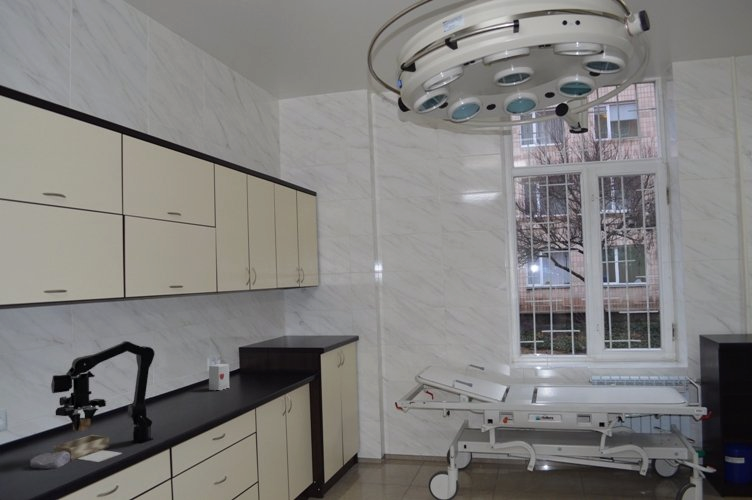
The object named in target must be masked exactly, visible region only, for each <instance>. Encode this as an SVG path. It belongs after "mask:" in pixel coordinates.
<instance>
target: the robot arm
mask: <svg viewBox="0 0 752 500" xmlns="http://www.w3.org/2000/svg"><path fill="white" fill-rule="evenodd" d="M127 352H128V353H130V354H133V355H135V356H136V357H135V361H136V364H137V374H136V378H135V379H136V380H135V387H134V388H135V389H134V396H133V401H132V403H131V404H128V405H127V413H126V416H127V419H128V421H130V422H131V423H132V424H133V426H134V427H133V432H132V437H133V438H132V440H131V442H132V443H141V444H143V443H146V442H148V441H151V440H154V439H155V438H154V437H152V429H151V428H152V424H153V421H152V419H150V418H149V417H147V407H146V394H147V386H148V378H149V370H150V367H151V365H152V363H153V360H154V357H155V355H156V354H155V350H154V348H152V347H150V346H145V345H142V346H140V345H139V344H134V343H133V342H131V341H127V340H125V341H123V342H121V343H119V344H116V345H114V346H111V347H108V348H107V349H105V350H104V349H103V350H102V351H98V352H95V353H94V354H90V355H84V356H80V357H79V356H78V357H76V358H74V359H73V361H72V363H71V367H69V369H68V371H67V372H66V374H60V375H59V374H58V375H57V374H55V375H52V380H51V383H50V385H51V386H50V389H51V393H52V394H57V393H59V394H60V393H65V392H66V393H67V392H69V391H70V390H72V391H73V392H71V393H70V396H69V397H67V396H61V397H59V406H60V407H57V408H56V409H55V416H59V417H68V418H69V419H70V421H71V423H72V426H73V425H74V428H75V430H74V431H77V430H78V429H79V422H80V418H81V413H79V411H81V410H82V412H83V413H84V418H90V423H91V421H92V419H93V418H94V416H95V414H96V412H97V411H98V410H99V408H105V407H106V406H107V401H106V399H104V398H94V399H93V398H92V399H90V395H92V391H91V390H90V378H95V377H96V376H95V375H96V374H93V373H92V372H91V371H90V370H92V369H94V368H95V367H96V366H97V365H99V364H100V363H102V362H105V361H108V360H109V359H112V358H115V357H116V356H117V357H118V356H119V355H121V354H124V353H127ZM97 407H98V408H97Z"/></svg>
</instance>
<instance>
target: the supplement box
mask: <svg viewBox="0 0 752 500" xmlns="http://www.w3.org/2000/svg"><path fill="white" fill-rule="evenodd" d="M226 388H229V389H230V364H228V363H217V364H211V365H208V390H209V391H210V390H211V391H216V390H220V391H224V390H223V389H225V390H227V389H226Z"/></svg>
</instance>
